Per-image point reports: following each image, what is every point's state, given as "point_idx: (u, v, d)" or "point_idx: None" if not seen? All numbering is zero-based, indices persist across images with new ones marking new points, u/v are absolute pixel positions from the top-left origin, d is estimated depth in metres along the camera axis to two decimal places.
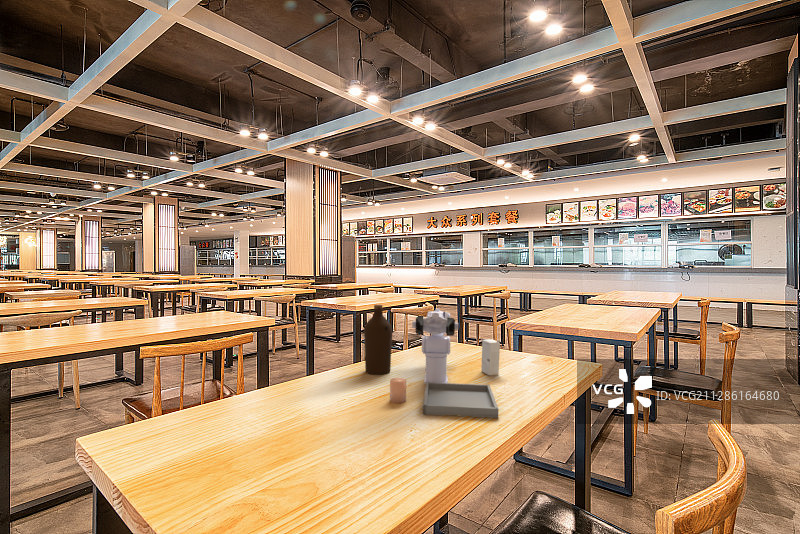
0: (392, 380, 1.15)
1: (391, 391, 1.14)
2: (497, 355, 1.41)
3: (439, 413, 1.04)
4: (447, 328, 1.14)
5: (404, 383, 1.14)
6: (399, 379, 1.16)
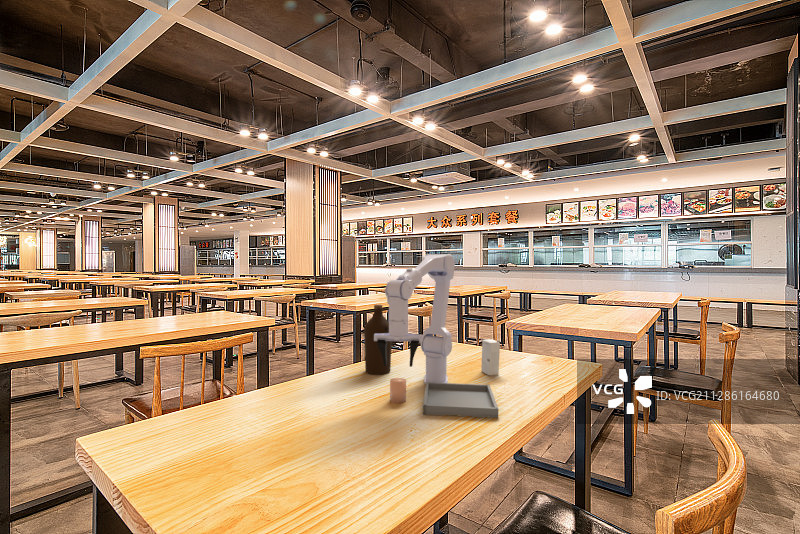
0: (392, 380, 1.15)
1: (391, 391, 1.14)
2: (497, 355, 1.41)
3: (439, 413, 1.04)
4: None
5: (404, 383, 1.14)
6: (399, 379, 1.16)
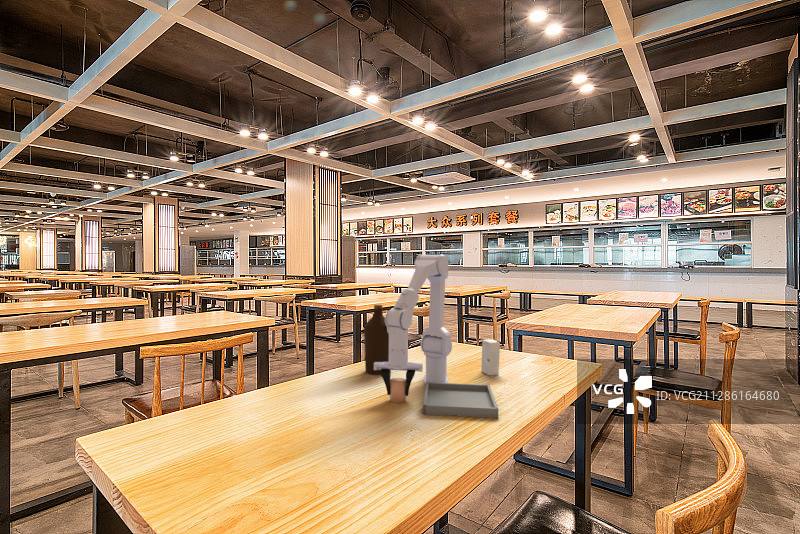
0: (392, 380, 1.15)
1: (391, 390, 1.14)
2: (497, 355, 1.41)
3: (439, 413, 1.04)
4: None
5: (404, 383, 1.14)
6: (399, 379, 1.16)
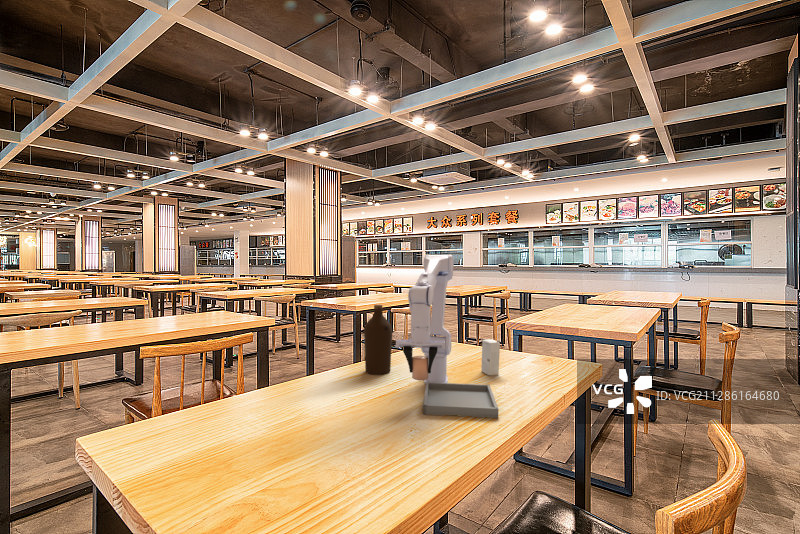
0: (414, 357, 1.14)
1: (414, 368, 1.13)
2: (497, 355, 1.41)
3: (439, 413, 1.04)
4: None
5: (427, 360, 1.13)
6: (421, 357, 1.15)
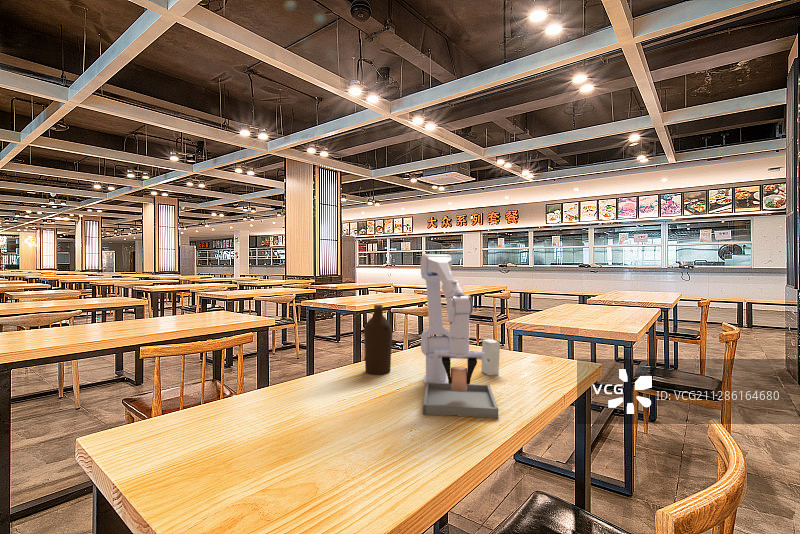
0: (453, 368, 1.13)
1: (453, 379, 1.12)
2: (497, 355, 1.41)
3: (439, 413, 1.04)
4: None
5: (466, 371, 1.12)
6: (460, 368, 1.14)
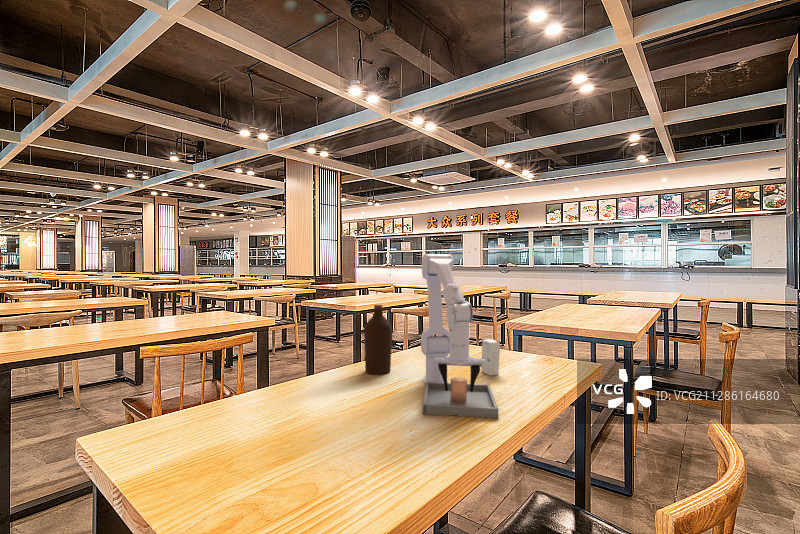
0: (453, 380, 1.13)
1: (452, 390, 1.12)
2: (497, 355, 1.41)
3: (439, 413, 1.04)
4: None
5: (466, 383, 1.12)
6: (460, 379, 1.14)
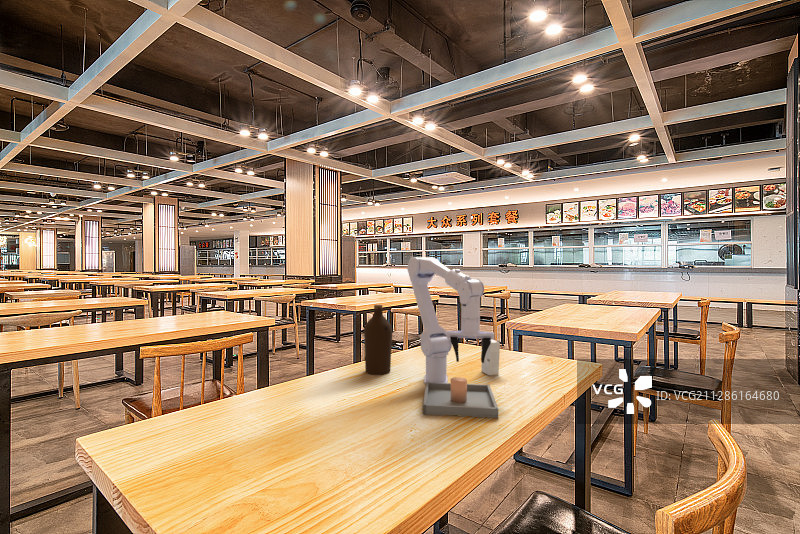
0: (453, 379, 1.13)
1: (452, 390, 1.12)
2: (497, 355, 1.41)
3: (439, 413, 1.04)
4: None
5: (466, 382, 1.12)
6: (459, 379, 1.14)
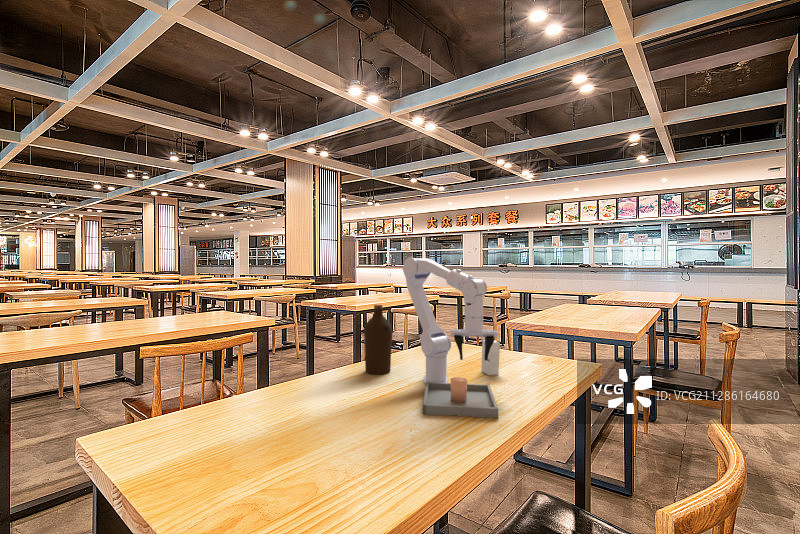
0: (453, 379, 1.13)
1: (453, 390, 1.12)
2: (497, 355, 1.41)
3: (439, 413, 1.04)
4: None
5: (466, 382, 1.12)
6: (459, 379, 1.14)
